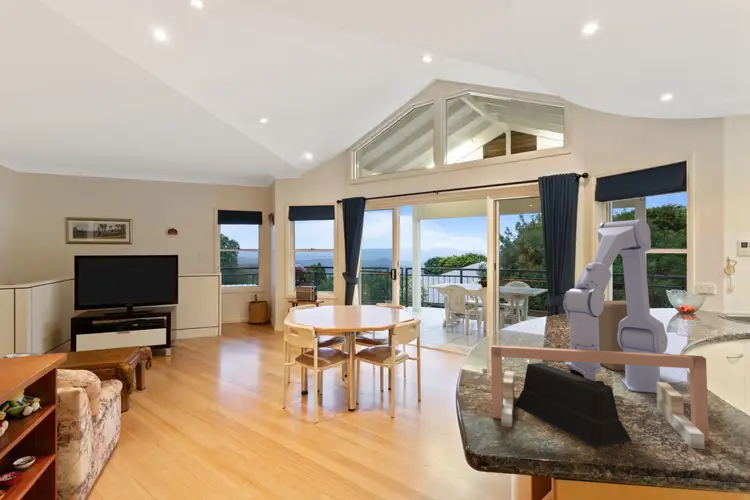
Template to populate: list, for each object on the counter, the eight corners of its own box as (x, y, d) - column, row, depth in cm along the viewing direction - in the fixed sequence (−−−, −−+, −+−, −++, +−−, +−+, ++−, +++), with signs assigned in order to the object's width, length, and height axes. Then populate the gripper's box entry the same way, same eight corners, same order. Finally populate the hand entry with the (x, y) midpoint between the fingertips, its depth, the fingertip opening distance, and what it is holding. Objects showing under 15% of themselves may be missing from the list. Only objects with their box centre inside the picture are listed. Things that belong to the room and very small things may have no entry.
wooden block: (647, 371, 123) (645, 303, 123) (613, 371, 123) (611, 303, 123) (627, 362, 133) (625, 300, 133) (596, 363, 133) (594, 300, 133)
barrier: (513, 406, 96) (511, 362, 96) (544, 401, 99) (543, 359, 99) (595, 450, 74) (593, 393, 74) (633, 442, 76) (631, 387, 77)
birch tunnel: (506, 395, 103) (505, 370, 103) (668, 410, 91) (667, 382, 92) (501, 425, 84) (500, 396, 84) (704, 449, 73) (703, 414, 73)
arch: (493, 414, 91) (491, 345, 91) (704, 436, 78) (701, 355, 78) (492, 417, 89) (491, 346, 89) (709, 441, 76) (706, 358, 76)
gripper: (561, 337, 99) (563, 394, 98) (567, 349, 85) (569, 416, 85) (595, 338, 96) (596, 397, 96) (606, 351, 83) (608, 420, 82)
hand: (586, 406), depth 90 cm, fingers open, 7 cm apart
